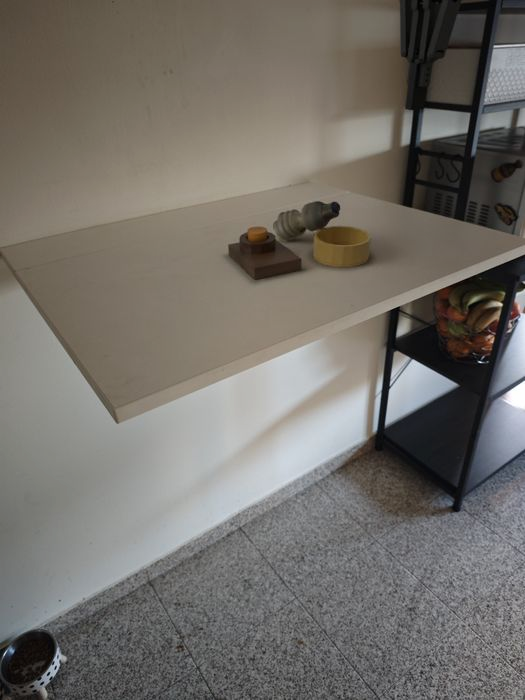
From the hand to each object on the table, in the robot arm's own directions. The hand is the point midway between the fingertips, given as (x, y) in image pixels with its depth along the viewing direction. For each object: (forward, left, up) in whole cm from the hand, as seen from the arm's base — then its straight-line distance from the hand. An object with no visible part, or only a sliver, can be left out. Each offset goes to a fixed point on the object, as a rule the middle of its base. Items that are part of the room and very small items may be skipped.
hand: (414, 108), depth 82 cm
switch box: (+6, +25, -24) cm, 35 cm away
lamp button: (+8, +25, -21) cm, 34 cm away
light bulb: (+4, +11, -16) cm, 20 cm away
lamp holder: (+2, +11, -24) cm, 27 cm away
